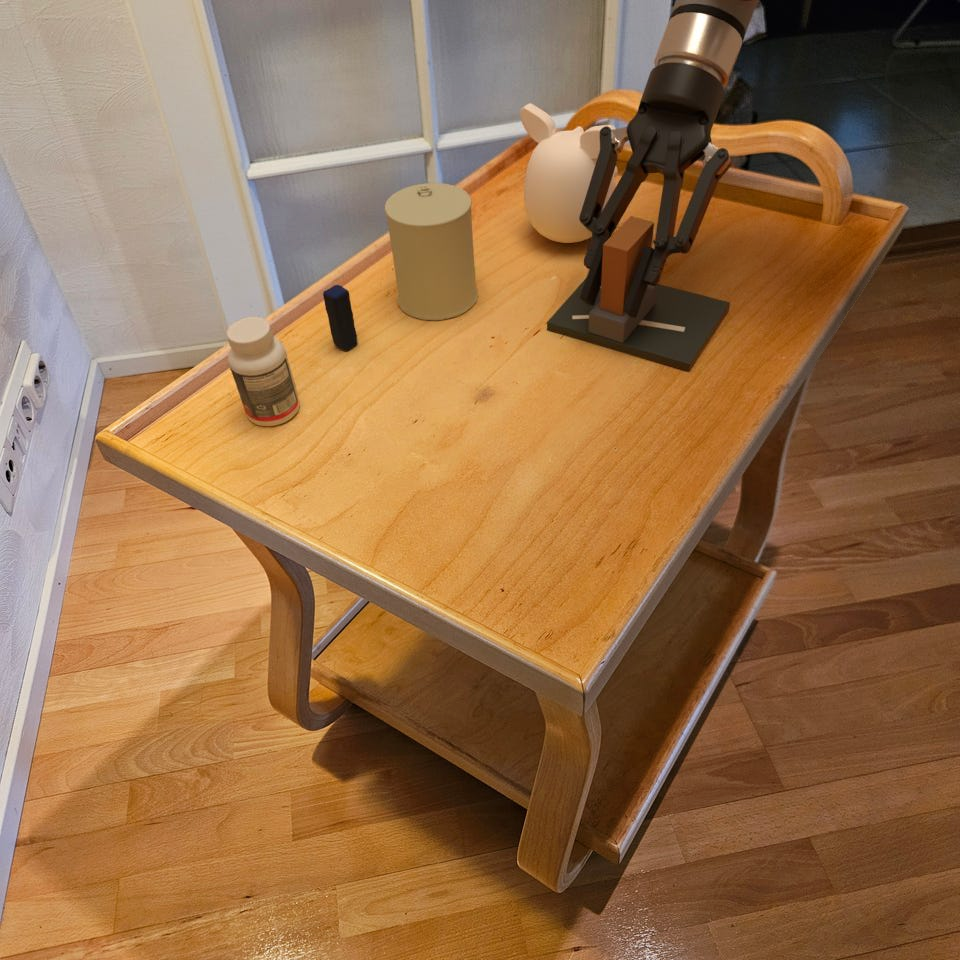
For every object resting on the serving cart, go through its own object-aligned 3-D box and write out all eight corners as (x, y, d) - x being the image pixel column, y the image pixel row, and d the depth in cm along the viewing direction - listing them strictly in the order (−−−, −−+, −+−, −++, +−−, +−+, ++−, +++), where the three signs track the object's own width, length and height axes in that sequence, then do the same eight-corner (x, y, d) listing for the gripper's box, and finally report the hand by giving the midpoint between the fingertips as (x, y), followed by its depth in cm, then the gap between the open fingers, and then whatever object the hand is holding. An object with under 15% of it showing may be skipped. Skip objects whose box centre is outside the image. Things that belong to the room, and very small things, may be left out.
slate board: (729, 309, 90) (730, 301, 89) (688, 371, 83) (690, 363, 82) (594, 274, 96) (595, 266, 95) (546, 329, 89) (546, 321, 88)
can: (468, 269, 98) (461, 172, 90) (486, 312, 92) (480, 212, 83) (392, 282, 97) (377, 185, 89) (404, 327, 91) (390, 227, 82)
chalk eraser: (656, 303, 89) (665, 218, 82) (622, 343, 85) (629, 258, 78) (622, 293, 91) (628, 209, 84) (588, 332, 87) (591, 247, 79)
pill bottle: (245, 398, 84) (218, 317, 77) (298, 388, 84) (276, 307, 77) (247, 433, 80) (219, 351, 73) (303, 422, 81) (280, 340, 74)
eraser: (332, 345, 89) (320, 291, 84) (348, 336, 90) (337, 281, 85) (344, 353, 88) (333, 299, 83) (360, 344, 89) (350, 289, 84)
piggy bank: (629, 218, 104) (639, 96, 94) (600, 266, 97) (607, 139, 86) (537, 204, 108) (537, 85, 98) (503, 248, 101) (498, 125, 90)
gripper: (778, 109, 81) (695, 338, 83) (618, 83, 88) (544, 296, 90) (772, 71, 74) (681, 322, 76) (599, 46, 81) (520, 277, 83)
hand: (608, 307), depth 83 cm, fingers closed on chalk eraser, 4 cm apart
